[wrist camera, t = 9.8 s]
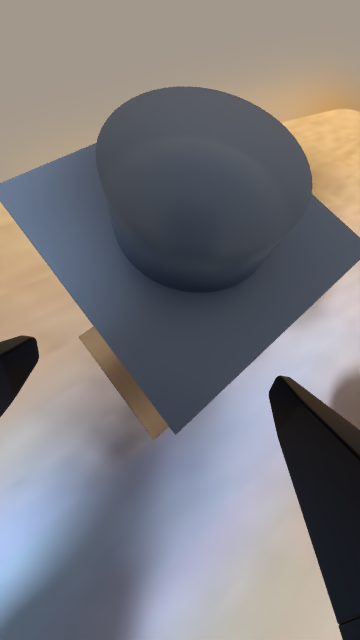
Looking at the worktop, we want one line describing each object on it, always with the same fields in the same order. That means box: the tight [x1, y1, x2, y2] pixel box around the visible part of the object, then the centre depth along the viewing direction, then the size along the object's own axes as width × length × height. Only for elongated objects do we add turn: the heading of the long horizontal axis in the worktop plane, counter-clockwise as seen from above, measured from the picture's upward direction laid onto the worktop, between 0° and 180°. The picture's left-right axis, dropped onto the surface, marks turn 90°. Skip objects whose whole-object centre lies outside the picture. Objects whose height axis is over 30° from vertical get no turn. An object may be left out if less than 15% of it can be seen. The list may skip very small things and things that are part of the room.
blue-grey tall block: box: [0, 87, 360, 435], centre depth 9 cm, size 4×4×14 cm
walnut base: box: [79, 327, 168, 440], centre depth 18 cm, size 9×9×4 cm
